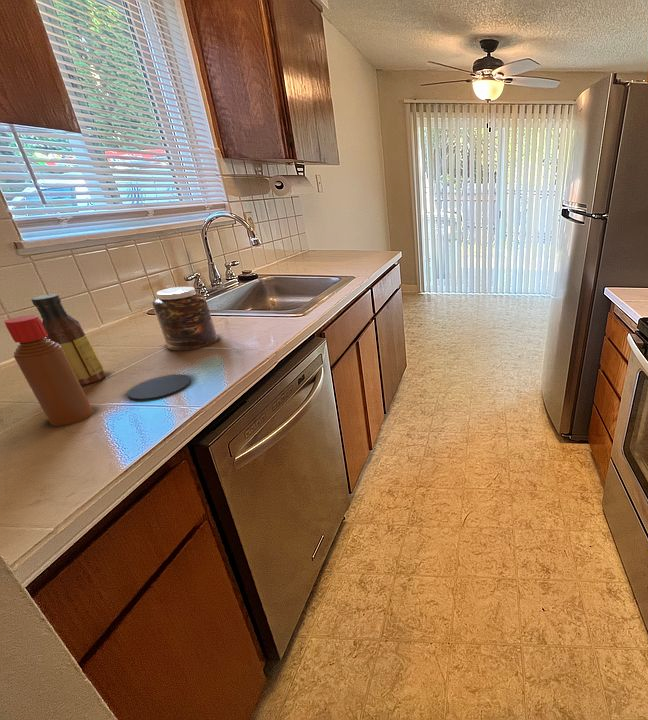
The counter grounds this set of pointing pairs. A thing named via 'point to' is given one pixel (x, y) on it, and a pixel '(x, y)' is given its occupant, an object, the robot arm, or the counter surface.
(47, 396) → the bottle
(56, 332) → the sauce bottle
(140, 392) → the coaster
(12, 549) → the counter surface
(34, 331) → the cap
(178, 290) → the jar
